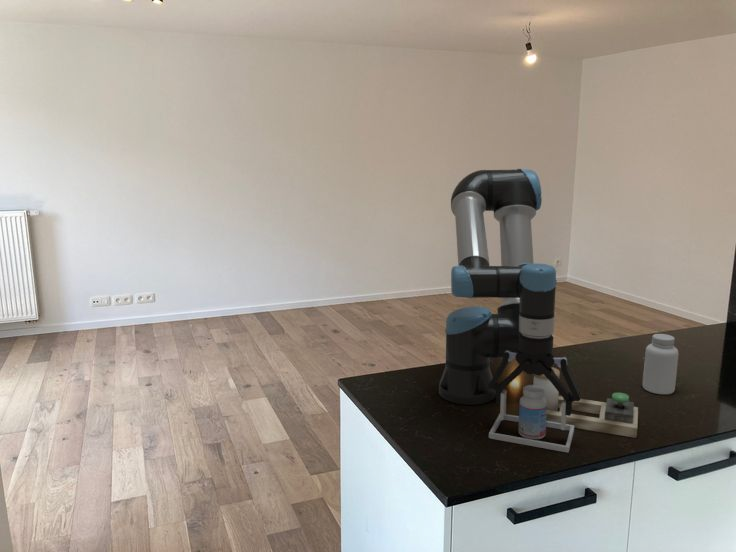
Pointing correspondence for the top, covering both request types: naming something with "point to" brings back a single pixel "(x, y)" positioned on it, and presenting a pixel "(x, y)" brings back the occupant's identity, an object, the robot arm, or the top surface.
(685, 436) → the top surface
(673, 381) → the pill bottle
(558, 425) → the white rectangular frame
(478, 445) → the top surface
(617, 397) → the button
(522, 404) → the pill bottle
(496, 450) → the top surface
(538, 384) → the white canister
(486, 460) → the top surface
